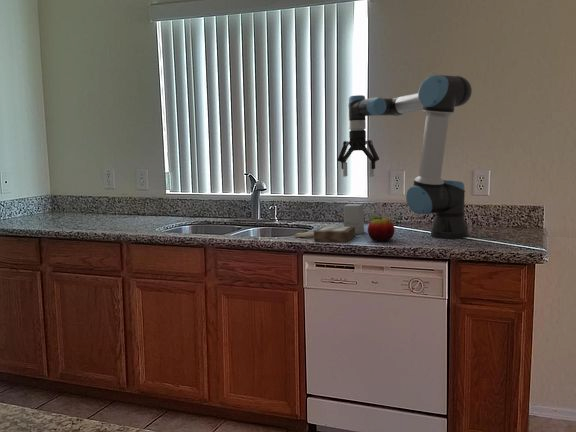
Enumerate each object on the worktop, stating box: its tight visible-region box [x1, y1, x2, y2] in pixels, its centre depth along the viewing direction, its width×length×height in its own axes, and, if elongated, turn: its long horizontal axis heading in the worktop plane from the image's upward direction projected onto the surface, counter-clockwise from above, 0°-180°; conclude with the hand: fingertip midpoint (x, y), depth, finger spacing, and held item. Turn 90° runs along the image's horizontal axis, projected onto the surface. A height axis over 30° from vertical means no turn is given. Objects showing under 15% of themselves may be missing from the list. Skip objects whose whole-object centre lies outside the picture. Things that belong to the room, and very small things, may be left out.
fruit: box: [367, 215, 395, 243], centre depth 224 cm, size 11×11×10 cm
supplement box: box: [342, 203, 365, 235], centre depth 245 cm, size 7×7×13 cm
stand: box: [313, 225, 356, 243], centre depth 232 cm, size 14×14×4 cm
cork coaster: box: [294, 231, 314, 238], centre depth 241 cm, size 10×10×1 cm
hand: (358, 176), depth 255 cm, fingers open, 13 cm apart
